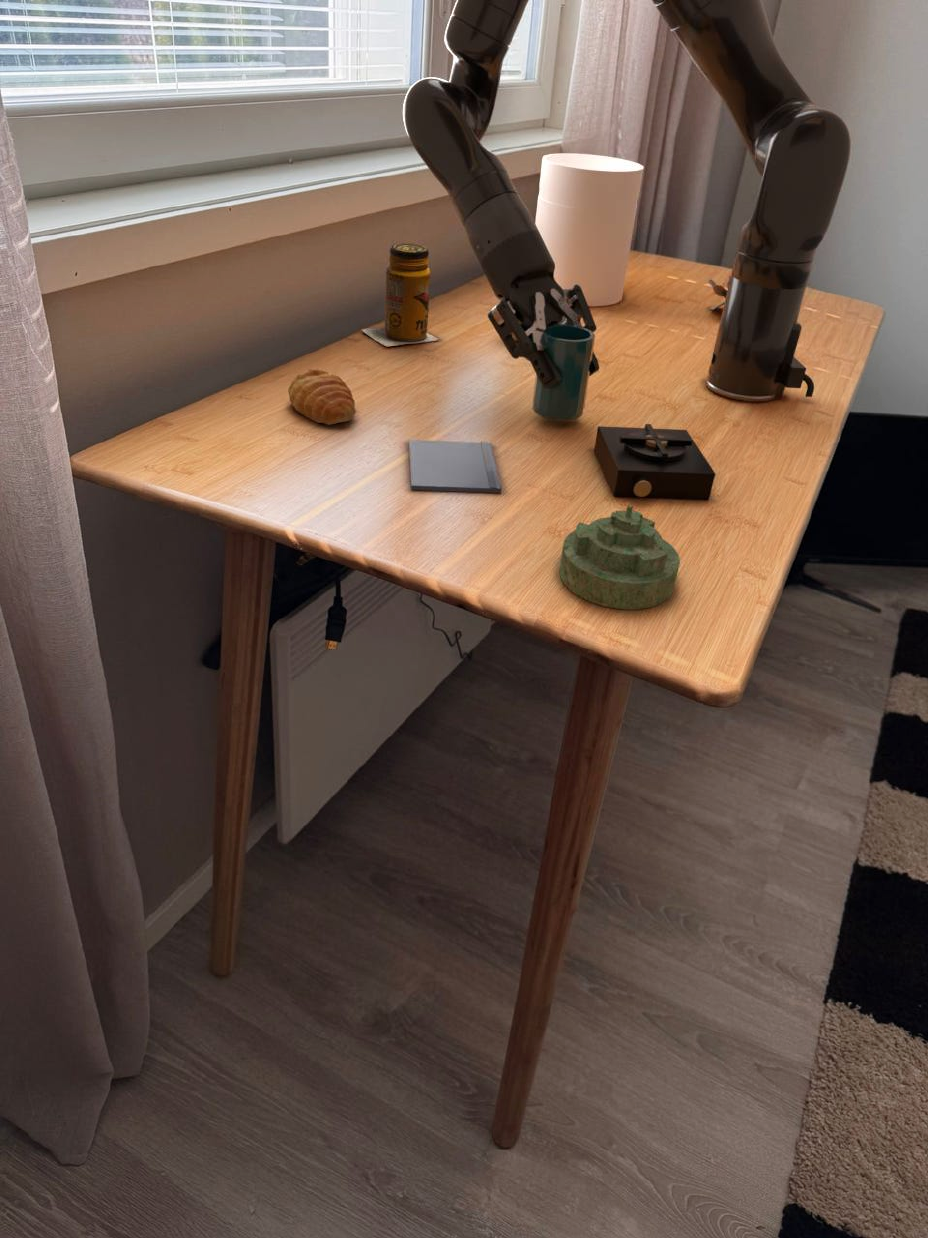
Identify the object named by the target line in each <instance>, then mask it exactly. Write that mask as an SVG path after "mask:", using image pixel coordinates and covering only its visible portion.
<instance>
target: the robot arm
mask: <svg viewBox="0 0 928 1238" xmlns="http://www.w3.org/2000/svg"><path fill="white" fill-rule="evenodd" d="M529 1H530V0H456V1H455V4H454V6H453V9H452V13H451V15H450V18H449V20H448V23H447V26H446V29H445V33H444V44H445V46H446V48H447V50H448V51H449V52H450V53H451V54H452V55H453V61H452V68H451V72H450V77H449V81H448V80H445V79H443V78H439V77H425V78H421V79H419V80H417V81H416V82H415V83H414V84H413V85H411V86H410V87H409V89H408V91H407V93H406V95H405V97H404V101H403V107H402V117H403V119H402V120H403V123H404V128H405V132H406V134H407V136H408V139H409V141H410V143H411V145H412V147H413V148H414V149H415V152H416V153H417V154H418V156H419V157H420V158H421V161H423V163H424V164H425V165H426V167H427V168H428V170H430V172H431V173H432V175H433V176H434V178H435V179H436V181H438V182H439V183H440V184H441V186H442V187H443V188H444V190H445V191H446V193H447V194H448V196H449V199H450V201H451V202H452V205H453V207H454V209H455V211H456V213H457V215H458V217H459V219H460V221H461V224H462V225H463V228H464V229H465V232H466V235H467V238H468V242H469V244H470V246H471V249H472V250H473V253H474V255H475V257H476V259H477V261H478V263H479V265H480V267H481V269H482V271H483V273H484V276H485V278H486V280H487V282H488V283H489V285H490V288H491V289H492V292H493V294H494V296H495V297H496V298H497V300H499V302H498V303H496V305H494V306H493V308H492V309H490V310H489V312H487V318H488V320H489V322H490V323H491V325H492V327H493V328H494V330H495V331H496V333H497V335H498V336H499V338H500V340H501V341H502V343H503V344H504V346H505V348H506V350H507V351H508V353H509V354H510V356H511V358H513V359H515V360H517V359H519V358H524V359H525V360H526V361H527V362H530V364H531V366H532V369H533V370H534V372H535V375H536V374H537V376H538V378H539V380H540V382H541V383H542V384H543V385H544V387H545V388H546V389H550V388H553V387H554V386H555V385H557V384H558V383H559V382H560V381H561V376H560V374H559V372H558V370H557V368H556V366H555V364H554V362H553V360H552V358H551V356H550V354H549V352H548V350H547V351H544V350H545V341H544V337H543V333H544V332H545V330H546V326H548V325H554V324H559V323H560V322H561V321H562V319H563V316H564V317H565V318H566V320H565V321H564V322H563V323H562V324H569V325H575V326H580V327H583V328H586V329H589V330H590V331H592V332H593V333H595V332H596V331H597V325H596V321H595V320H594V317H593V315H592V312H591V310H590V306H588V304H587V302H586V299H585V297H584V294H583V292H582V289H581V287H580V286H579V285H574V286H573V287H572V288H571V289H562V288H561V287H560V286H559V285H558V283H557V282H556V281H555V279H554V270H555V263H554V261H553V259H552V257H551V255H550V253H549V251H548V249H547V247H546V245H545V243H544V240H543V238H542V236H541V234H540V232H539V230H538V228H537V226H536V224H535V220H534V218H533V216H532V214H531V213H530V211H529V209H528V207H527V206H526V204H525V203H524V202H523V200H522V199H521V197H520V195H519V193H518V191H517V189H516V187H515V184H514V183H513V181H512V179H511V177H510V175H509V173H508V171H507V169H506V166H505V165H504V164H503V162H502V161H501V159H500V158H499V156H498V155H496V154H495V153H493V152H492V151H491V150H489V149H487V147H485V146H484V145H483V144H482V140H483V138H484V137H485V135H486V133H487V131H488V129H489V126H490V124H491V121H492V118H493V114H494V110H495V106H496V100H497V96H498V90H499V86H500V82H501V75H502V70H503V63H504V60H505V58H506V56H507V54H508V51H509V49H510V46H511V44H512V42H513V40H514V38H515V35H516V33H517V31H518V28H519V25H520V23H521V21H522V19H523V16H524V14H525V11H526V9H527V6H528V4H529ZM651 1H652V3H653V4H654V6H655V8H656V10H657V11H658V12H659V14H660V16H661V18H662V19H663V20H664V22H665V23H666V25H667V27H668V29H669V30H670V32H671V33H672V35H674V37H675V39H676V40H677V41H678V43H679V44H680V45H681V47H682V48H683V50H684V52H685V53H686V54H687V55H688V58H690V60H691V61H692V63H693V64H694V65H695V67H696V68H697V69H698V71H700V73H701V74H702V75H703V76H704V78H705V79H706V80H707V82H708V83H709V84H710V85H711V86H712V87H713V89H714V90H715V91H716V93H717V94H718V96H719V97H720V99H721V100H722V101H723V103H724V104H725V106H726V108H727V110H728V112H729V113H730V115H731V117H732V119H733V121H734V124H735V125H736V127H737V129H738V131H739V133H740V136H741V137H742V139H743V142H744V144H745V146H746V148H747V150H748V153H749V155H750V157H751V160H752V161H753V164H754V166H755V169H756V170H757V172H758V174H759V175H760V176H761V181H760V184H759V189H758V192H757V196H756V200H755V203H754V208H753V210H752V214H751V216H750V218H749V220H748V221H747V222H746V223H745V224H744V225H743V226H742V228H741V230H740V235H739V238H738V243H737V248H736V250H735V251H736V252H735V256H734V261H733V263H732V269H731V274H730V282H729V286H728V288H727V289H726V290H727V295H726V298H724V301H725V303H724V305H723V309H722V313H721V316H720V321H719V324H718V325H719V326H718V330H717V334H716V337H715V343H714V348H712V350H711V353H710V365H709V367H708V373H707V376H706V380H705V386H706V387H707V388H708V389H709V390H710V391H712V392H714V393H716V394H717V395H720V396H723V397H725V398H729V399H733V400H737V401H744V402H754V403H755V402H758V403H759V402H768V401H771V400H775V399H778V400H779V399H783V396H784V393H785V389H786V388H788V389H801V388H802V384H803V382H804V383H805V384H806V388H807V389H806V392H805V398H813V394H814V391H815V384H814V381H813V379H812V378H811V377H810V376H809V374H806V371H807V368H806V367H805V365H804V364H803V363H802V362H801V361H799V359H797V358H796V357H795V354H796V350H797V346H798V343H799V340H800V336H801V332H802V325H801V324H800V323H799V322H798V319H799V316H800V315H799V314H800V311H801V307H802V304H803V300H804V297H805V293H806V289H807V286H808V282H809V279H810V275H811V271H812V268H813V264H814V261H815V258H816V254H817V252H818V251H817V250H818V248H819V246H820V245H821V243H822V241H823V240H824V238H825V236H826V235H827V232H828V231H829V229H830V225H831V222H832V219H833V216H834V213H835V210H836V207H837V203H838V200H839V197H840V194H841V191H842V187H843V184H844V181H845V177H846V174H847V170H848V166H849V163H850V157H851V148H852V146H851V145H852V139H851V135H850V131H849V128H848V126H847V124H846V122H845V121H844V120H843V118H841V117H840V116H839V114H837V113H835V112H833V111H832V110H829V109H827V108H824V107H822V106H819V105H817V104H816V103H815V101H814V100H813V99H812V98H811V97H810V96H809V95H808V94H807V92H806V91H805V90H804V88H803V87H802V86H801V84H800V83H799V82H798V80H797V78H796V77H795V75H794V74H793V73H792V71H791V69H790V68H789V67H788V65H787V64H786V62H785V60H784V59H783V57H782V55H781V54H780V51H779V49H778V46H777V44H776V42H775V39H774V36H773V33H772V29H771V26H770V23H769V19H768V16H767V13H766V10H765V5H764V3H763V0H651ZM581 319H582V321H583V323H584V325H583V324H582V323H581ZM513 334H514V335H515V337H516V338H517V340H518V341H516V340H514V339H513V337H512V335H513ZM599 370H600V364H599V360H598V358H597V356H596V354H595V352H594V351H593V354H592V361H591V367H590V374H589V377H591V376H593V375H594V374H596V373H597V372H598V371H599Z"/></svg>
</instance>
